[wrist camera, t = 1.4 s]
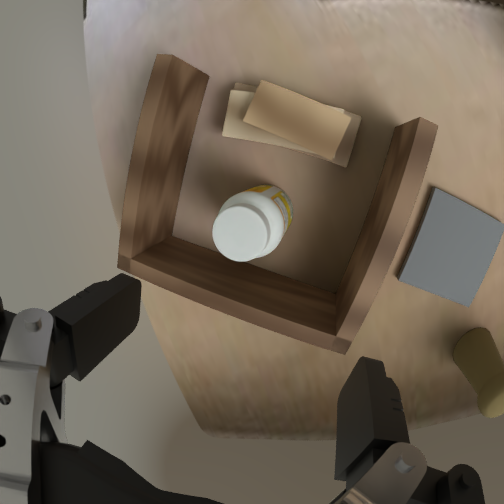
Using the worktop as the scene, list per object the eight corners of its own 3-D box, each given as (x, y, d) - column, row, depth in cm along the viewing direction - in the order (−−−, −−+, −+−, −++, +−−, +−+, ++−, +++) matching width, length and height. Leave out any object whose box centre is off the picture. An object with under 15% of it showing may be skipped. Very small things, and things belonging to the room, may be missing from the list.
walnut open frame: (196, 74, 27) (157, 54, 19) (409, 133, 24) (438, 125, 16) (158, 243, 34) (117, 267, 26) (343, 310, 31) (345, 354, 23)
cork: (448, 344, 29) (476, 406, 19) (487, 318, 27) (526, 373, 16) (457, 373, 29) (481, 433, 19) (494, 350, 27) (526, 405, 17)
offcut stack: (240, 83, 26) (227, 73, 22) (360, 116, 24) (366, 109, 21) (225, 136, 28) (210, 133, 24) (343, 171, 26) (347, 173, 23)
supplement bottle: (303, 200, 28) (292, 221, 19) (277, 246, 30) (256, 284, 21) (254, 174, 29) (221, 182, 20) (231, 220, 31) (192, 247, 22)
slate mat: (432, 186, 25) (435, 187, 24) (502, 223, 23) (505, 225, 22) (396, 277, 28) (398, 280, 27) (466, 304, 27) (468, 307, 26)
